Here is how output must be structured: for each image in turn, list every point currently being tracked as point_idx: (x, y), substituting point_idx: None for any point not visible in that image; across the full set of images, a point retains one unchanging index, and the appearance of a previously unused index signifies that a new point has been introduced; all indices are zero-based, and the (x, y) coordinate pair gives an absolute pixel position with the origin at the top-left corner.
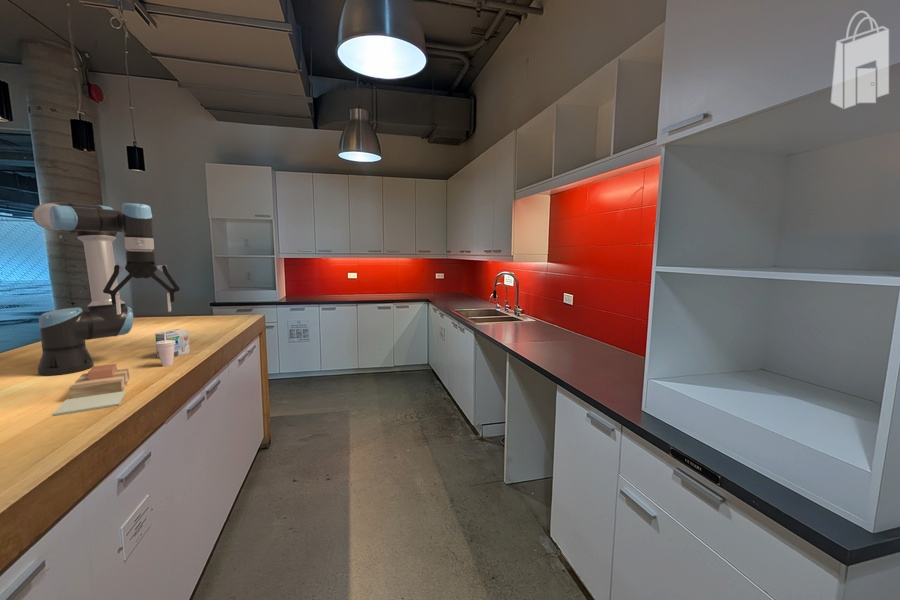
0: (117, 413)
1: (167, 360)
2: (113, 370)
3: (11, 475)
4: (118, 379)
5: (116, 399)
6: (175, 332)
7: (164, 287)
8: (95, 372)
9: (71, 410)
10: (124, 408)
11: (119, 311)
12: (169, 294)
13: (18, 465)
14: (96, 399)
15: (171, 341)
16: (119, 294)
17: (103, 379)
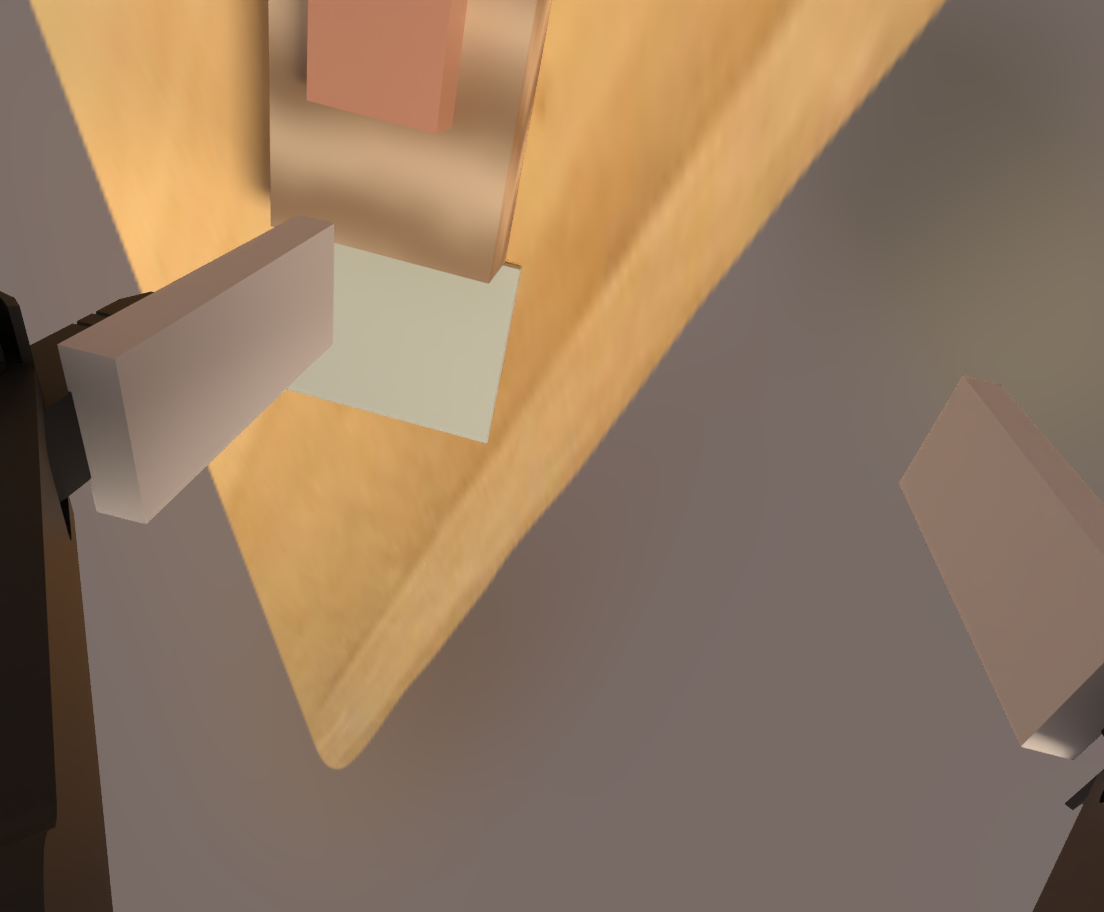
0: (481, 519)
1: None
2: (448, 79)
3: (304, 704)
4: (480, 226)
5: (479, 381)
6: None
7: (1057, 888)
8: (349, 110)
9: (335, 396)
10: (503, 486)
11: (310, 361)
12: (1057, 735)
13: (302, 673)
14: (405, 316)
15: None
16: (122, 360)
17: (407, 157)
